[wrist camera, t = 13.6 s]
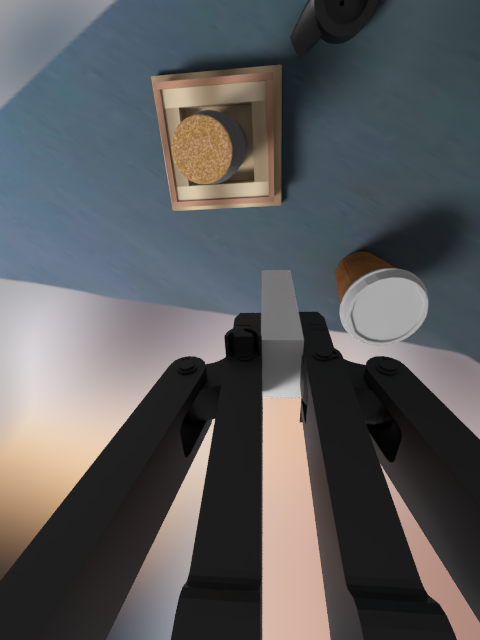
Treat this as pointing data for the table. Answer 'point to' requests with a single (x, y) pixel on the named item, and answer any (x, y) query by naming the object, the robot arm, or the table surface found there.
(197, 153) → the bottle
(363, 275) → the disposable coffee cup
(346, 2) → the dark winged oval cup
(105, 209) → the table surface
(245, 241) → the table surface
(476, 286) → the table surface
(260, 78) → the holder block
